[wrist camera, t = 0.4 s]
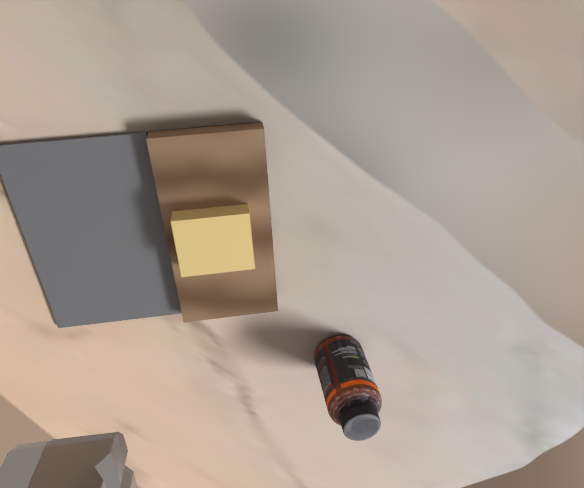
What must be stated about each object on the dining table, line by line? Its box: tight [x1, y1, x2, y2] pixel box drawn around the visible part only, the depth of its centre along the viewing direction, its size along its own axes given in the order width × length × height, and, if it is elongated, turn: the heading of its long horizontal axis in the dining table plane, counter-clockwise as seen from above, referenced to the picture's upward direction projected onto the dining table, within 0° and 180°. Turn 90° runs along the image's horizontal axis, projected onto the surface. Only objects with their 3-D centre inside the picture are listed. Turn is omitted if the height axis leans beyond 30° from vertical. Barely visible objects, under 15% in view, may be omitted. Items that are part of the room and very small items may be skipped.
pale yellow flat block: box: [171, 204, 255, 277], centre depth 46 cm, size 6×7×2 cm
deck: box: [146, 122, 278, 322], centre depth 48 cm, size 20×10×2 cm, turn 2°
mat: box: [0, 132, 182, 328], centre depth 48 cm, size 20×13×1 cm, turn 2°
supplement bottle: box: [315, 336, 382, 441], centre depth 55 cm, size 6×6×11 cm
